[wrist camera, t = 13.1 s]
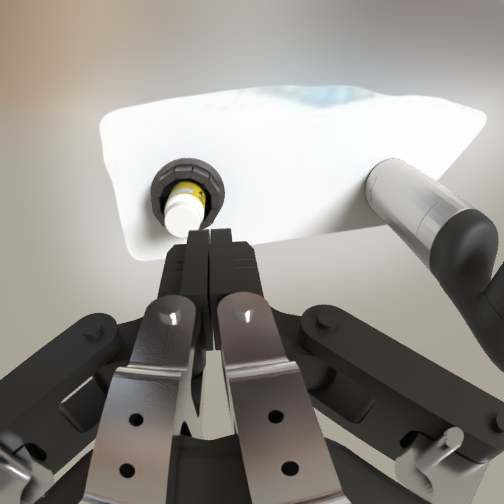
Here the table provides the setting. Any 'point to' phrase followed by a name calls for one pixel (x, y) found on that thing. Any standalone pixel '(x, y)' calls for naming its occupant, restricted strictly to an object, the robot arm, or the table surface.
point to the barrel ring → (192, 171)
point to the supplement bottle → (185, 207)
